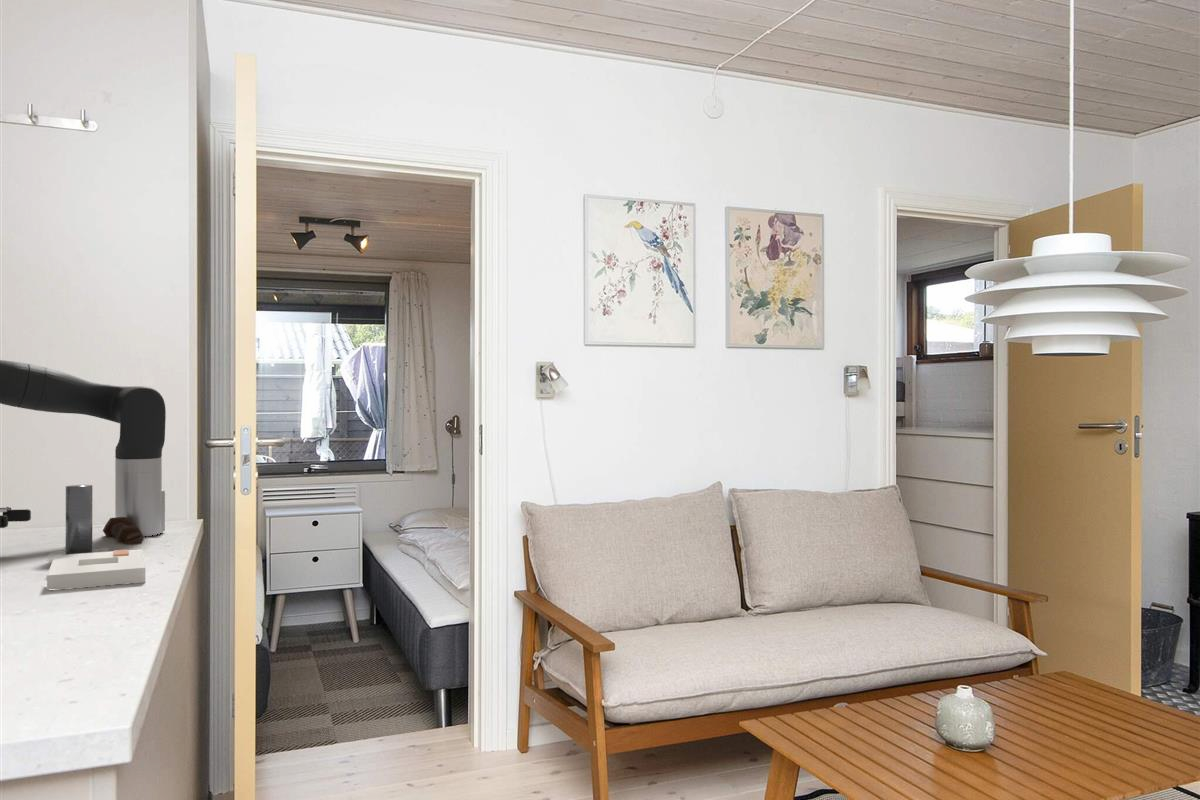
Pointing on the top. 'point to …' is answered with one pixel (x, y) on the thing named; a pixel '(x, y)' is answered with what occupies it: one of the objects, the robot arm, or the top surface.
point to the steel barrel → (78, 519)
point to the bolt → (123, 531)
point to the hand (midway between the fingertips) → (18, 518)
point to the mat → (52, 554)
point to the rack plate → (96, 569)
